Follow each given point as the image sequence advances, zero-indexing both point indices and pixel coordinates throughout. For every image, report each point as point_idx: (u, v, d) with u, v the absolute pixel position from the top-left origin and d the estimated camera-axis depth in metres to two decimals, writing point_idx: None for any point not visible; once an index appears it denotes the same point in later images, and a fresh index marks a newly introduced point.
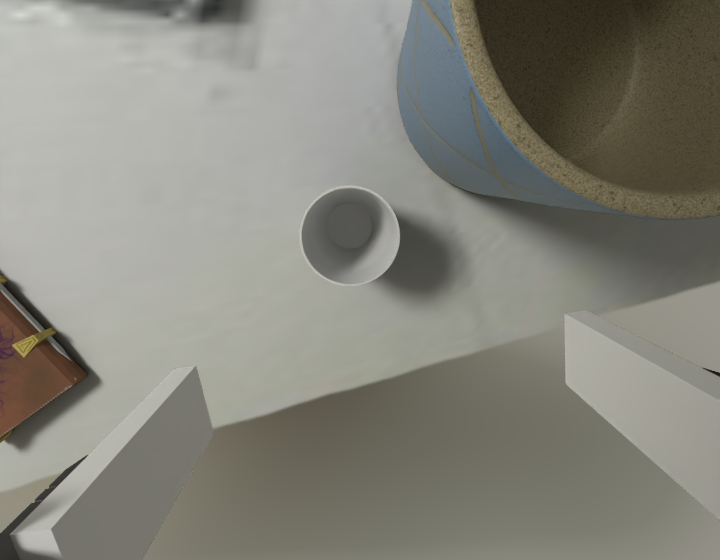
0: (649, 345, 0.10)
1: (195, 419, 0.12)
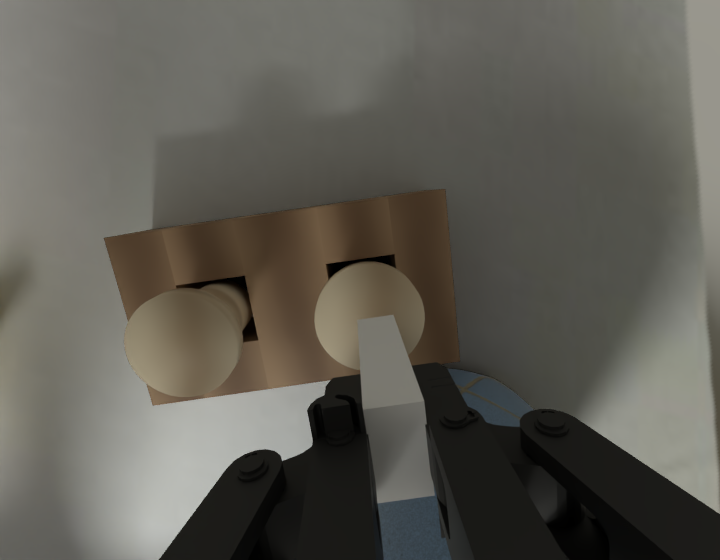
0: (399, 344, 0.12)
1: None
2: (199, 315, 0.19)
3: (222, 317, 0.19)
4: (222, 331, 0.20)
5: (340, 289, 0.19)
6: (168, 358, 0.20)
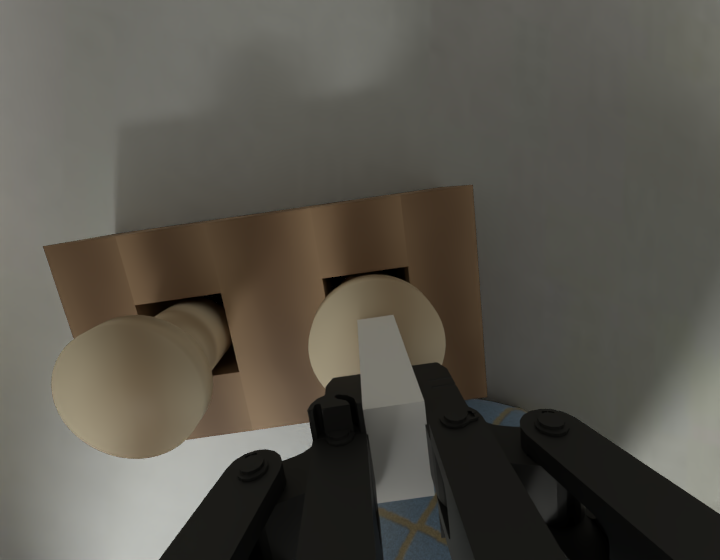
0: (399, 344, 0.12)
1: None
2: (151, 353, 0.14)
3: (182, 356, 0.14)
4: (183, 374, 0.15)
5: (340, 310, 0.15)
6: (111, 409, 0.15)
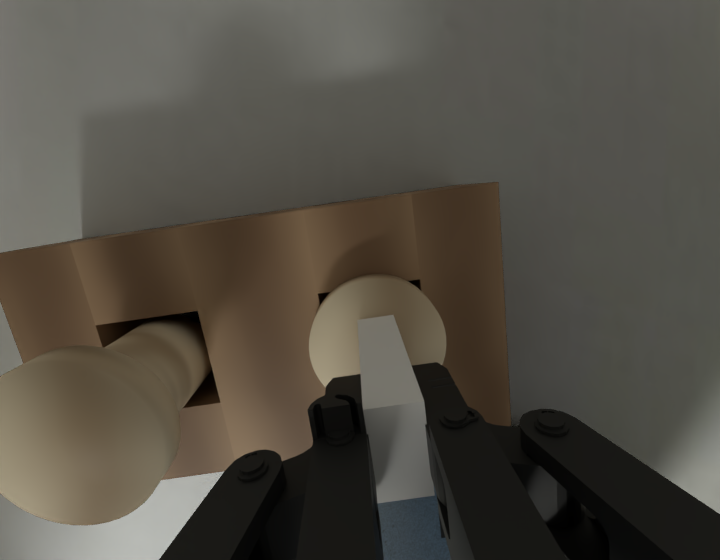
0: (399, 344, 0.12)
1: None
2: (96, 397, 0.11)
3: (136, 400, 0.11)
4: (138, 422, 0.12)
5: (341, 309, 0.15)
6: (49, 465, 0.12)
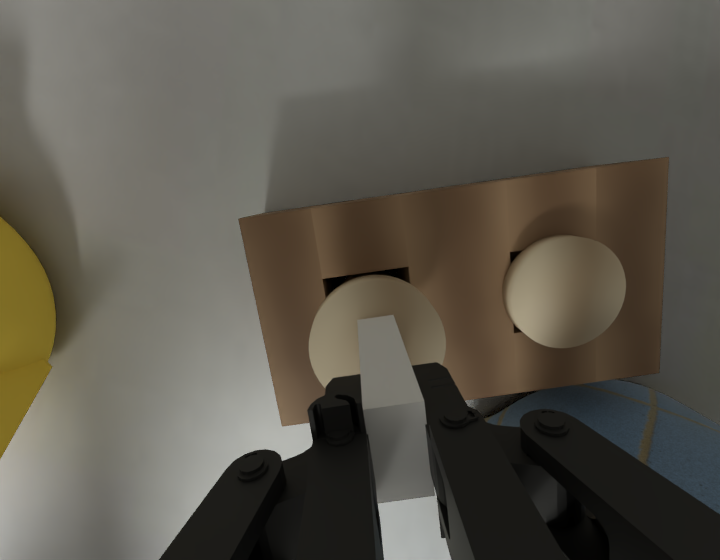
0: (399, 344, 0.12)
1: None
2: (405, 308, 0.15)
3: (433, 311, 0.16)
4: (431, 328, 0.16)
5: (542, 262, 0.19)
6: None
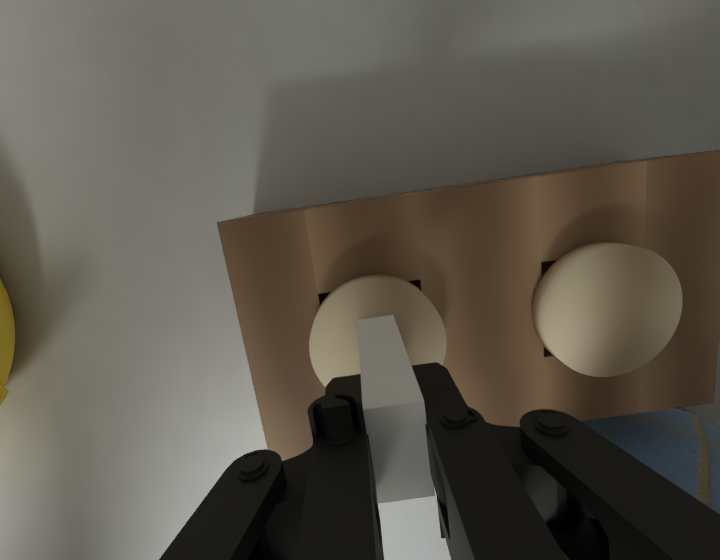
0: (399, 344, 0.12)
1: None
2: (405, 307, 0.15)
3: (433, 310, 0.15)
4: (431, 327, 0.16)
5: (583, 275, 0.15)
6: None
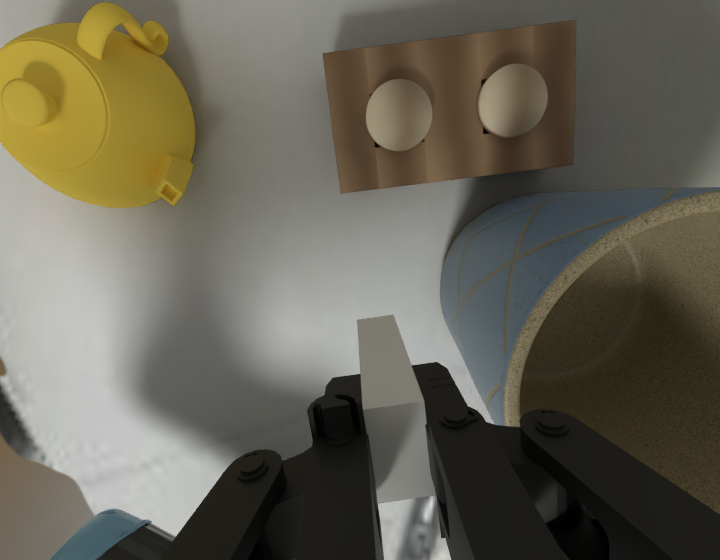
0: (399, 344, 0.12)
1: None
2: (413, 94, 0.32)
3: (426, 95, 0.32)
4: (425, 105, 0.33)
5: (498, 79, 0.32)
6: (390, 123, 0.33)
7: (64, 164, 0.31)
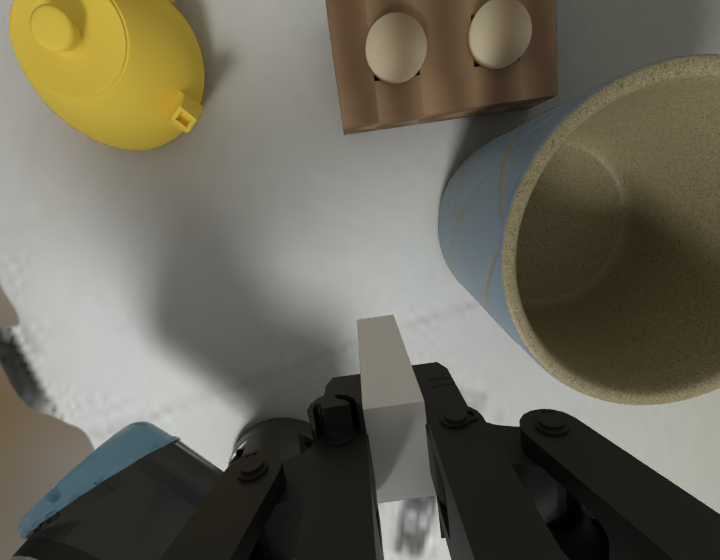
0: (399, 344, 0.12)
1: None
2: (408, 26, 0.35)
3: (421, 28, 0.35)
4: (420, 37, 0.35)
5: (486, 11, 0.35)
6: (388, 54, 0.36)
7: (85, 91, 0.33)
